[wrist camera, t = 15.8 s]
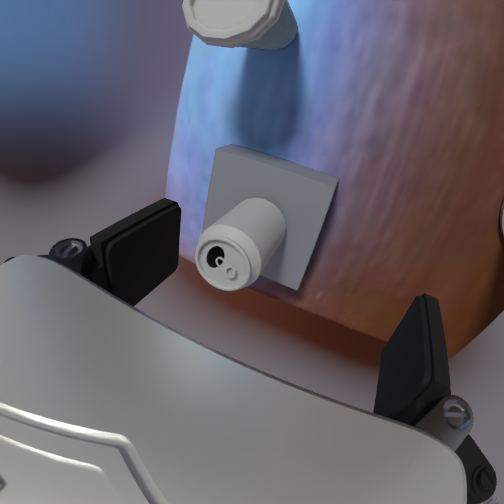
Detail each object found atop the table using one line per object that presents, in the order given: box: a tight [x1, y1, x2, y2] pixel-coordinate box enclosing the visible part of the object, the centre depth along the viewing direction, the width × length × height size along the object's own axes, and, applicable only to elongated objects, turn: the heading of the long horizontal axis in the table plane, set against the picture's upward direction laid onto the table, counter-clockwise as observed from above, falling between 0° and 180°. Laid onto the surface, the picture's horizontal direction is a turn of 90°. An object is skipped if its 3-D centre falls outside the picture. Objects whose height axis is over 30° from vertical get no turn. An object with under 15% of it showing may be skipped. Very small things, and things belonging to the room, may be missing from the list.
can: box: [195, 198, 286, 291], centre depth 35 cm, size 8×8×12 cm
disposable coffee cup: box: [182, 0, 298, 51], centre depth 25 cm, size 11×11×15 cm
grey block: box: [202, 144, 339, 290], centre depth 42 cm, size 16×16×5 cm
